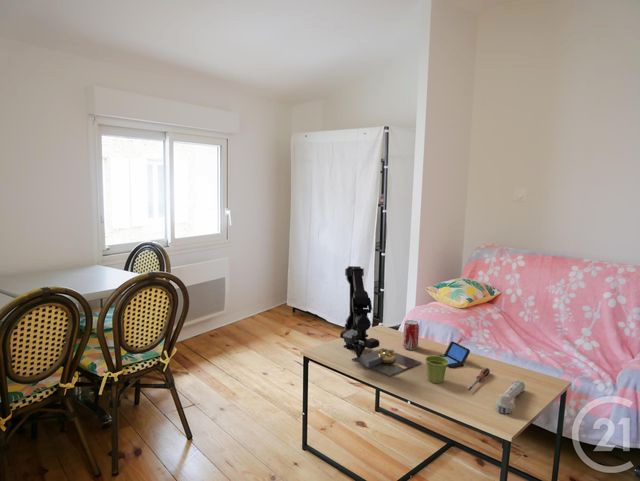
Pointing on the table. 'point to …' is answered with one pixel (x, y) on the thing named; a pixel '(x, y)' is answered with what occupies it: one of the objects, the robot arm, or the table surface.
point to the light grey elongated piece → (509, 397)
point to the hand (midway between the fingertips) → (358, 357)
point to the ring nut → (382, 358)
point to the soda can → (411, 335)
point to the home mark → (399, 365)
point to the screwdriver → (481, 376)
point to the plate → (388, 367)
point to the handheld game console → (456, 355)
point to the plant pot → (436, 368)
